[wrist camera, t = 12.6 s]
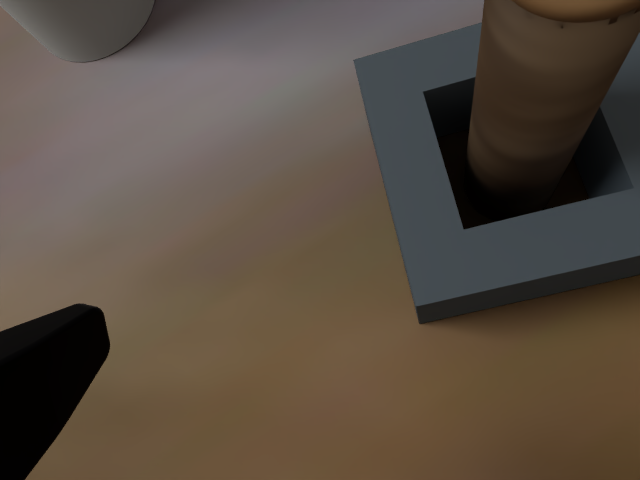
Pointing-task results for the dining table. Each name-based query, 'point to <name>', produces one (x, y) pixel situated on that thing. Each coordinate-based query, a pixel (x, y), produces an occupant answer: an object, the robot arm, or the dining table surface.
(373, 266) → the dining table surface
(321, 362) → the dining table surface
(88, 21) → the cylindrical container
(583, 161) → the hole block
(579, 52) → the tall walnut pin
